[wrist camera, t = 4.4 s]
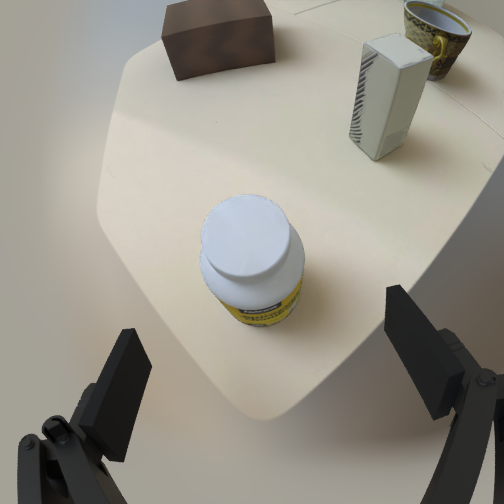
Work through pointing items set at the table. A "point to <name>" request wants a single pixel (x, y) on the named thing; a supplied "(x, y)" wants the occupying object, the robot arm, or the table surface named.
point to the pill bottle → (252, 259)
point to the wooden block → (217, 36)
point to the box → (388, 93)
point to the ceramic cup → (436, 34)
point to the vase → (431, 2)
